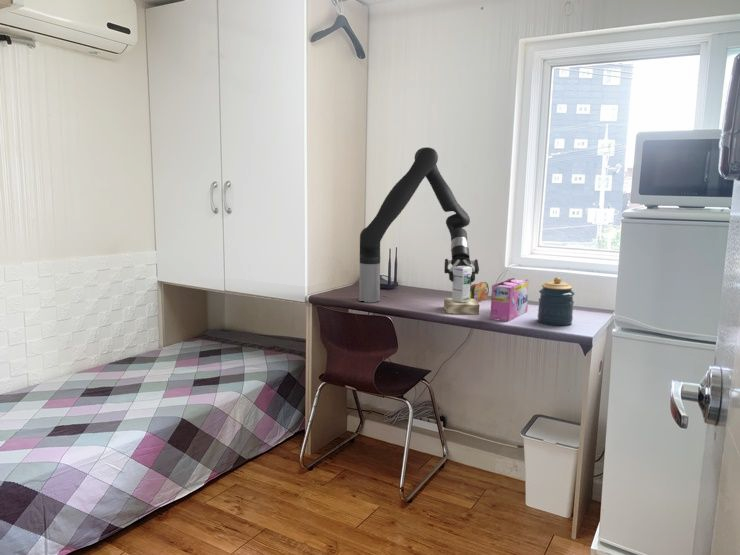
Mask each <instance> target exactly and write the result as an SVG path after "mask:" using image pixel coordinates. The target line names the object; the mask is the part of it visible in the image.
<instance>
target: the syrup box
mask: <svg viewBox="0 0 740 555" xmlns="http://www.w3.org/2000/svg"><path fill="white" fill-rule="evenodd" d="M472 268H473V267H469V266H457V267H453V282H452V287H451V289H452V290H451V291H452V292H451V298H452V300H453V301H456V302H461V303H463V302H467V301H471V286H472V282H471V281H472Z"/></svg>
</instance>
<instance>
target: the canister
mask: <svg viewBox="0 0 740 555" xmlns="http://www.w3.org/2000/svg"><path fill="white" fill-rule="evenodd" d="M572 289H573V286H572V285H570V284H569V283H568V282H563V281H562V279H561V278H560V277H559V276H557V277H555V278H554V279H553V281H546V282H545V283H543V284H541V289H539V291H538V292H539V294H540V295H539V298H538V309H537V311H538V312H537V321H538V322H539V323H541V324H545V325H548V324H549V325H548V326H558V325H563V326H570V325H572V323H573V320H574V319H573V316H574V315H573V314H574V313H573V312H574V311H573V310H574V303H575V301H574V300H573V299H574V295H575V292H574V291H573V290H572ZM569 324H570V325H569Z"/></svg>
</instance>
